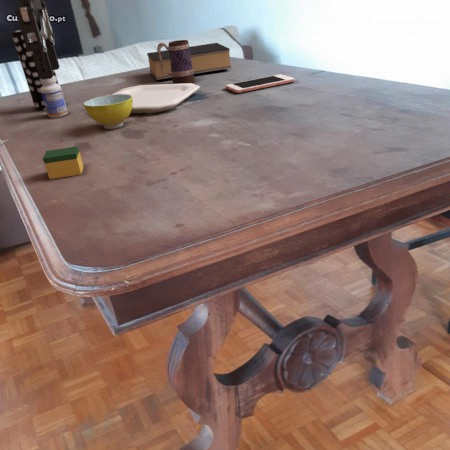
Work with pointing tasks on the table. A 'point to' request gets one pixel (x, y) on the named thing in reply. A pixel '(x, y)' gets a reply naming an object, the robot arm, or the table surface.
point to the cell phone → (259, 83)
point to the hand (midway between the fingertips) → (50, 74)
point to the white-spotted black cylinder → (30, 70)
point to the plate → (158, 96)
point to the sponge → (63, 162)
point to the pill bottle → (53, 98)
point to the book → (193, 60)
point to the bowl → (110, 109)
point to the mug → (178, 61)
